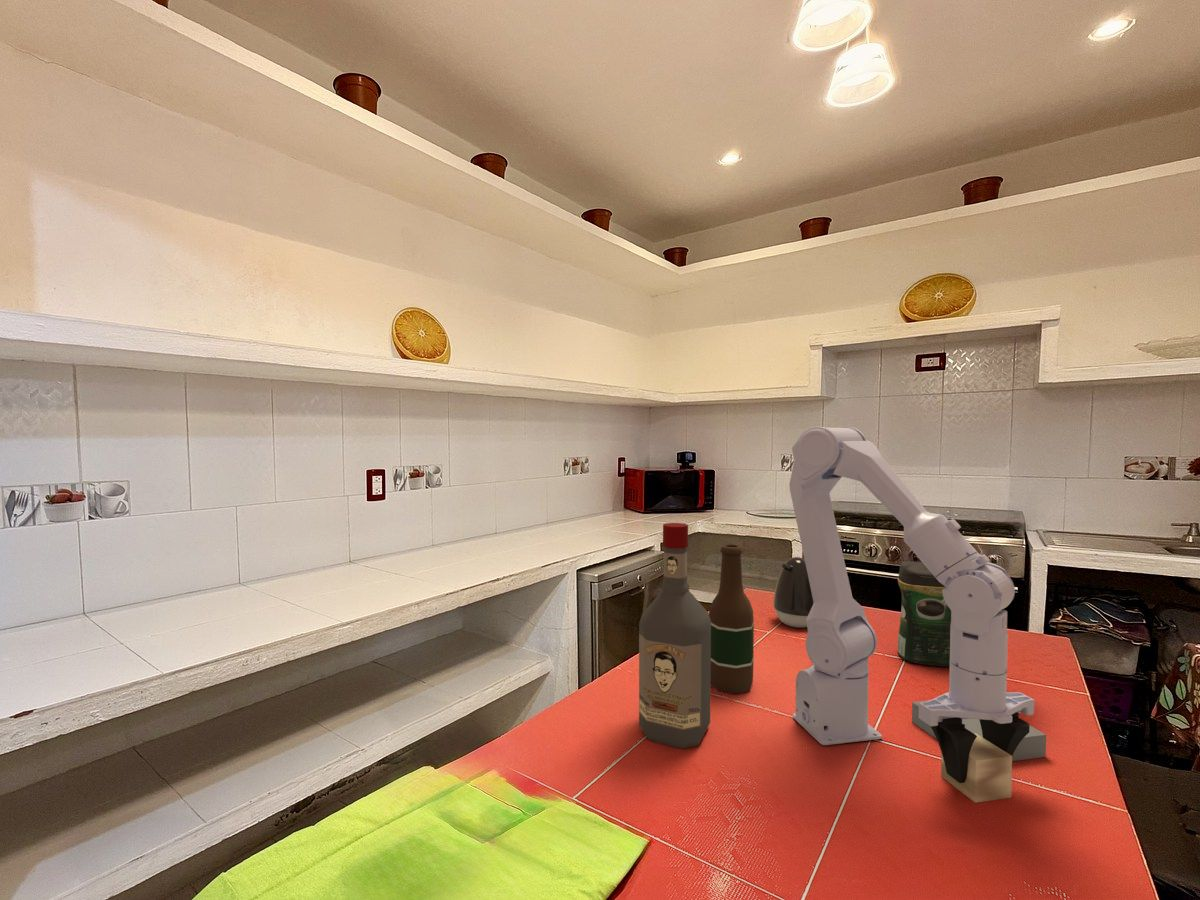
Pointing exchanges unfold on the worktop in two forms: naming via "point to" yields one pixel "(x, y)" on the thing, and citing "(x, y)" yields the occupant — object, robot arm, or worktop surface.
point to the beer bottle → (731, 628)
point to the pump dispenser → (793, 594)
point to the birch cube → (984, 772)
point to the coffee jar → (923, 617)
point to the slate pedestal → (1027, 748)
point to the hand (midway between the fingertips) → (975, 775)
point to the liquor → (675, 654)
